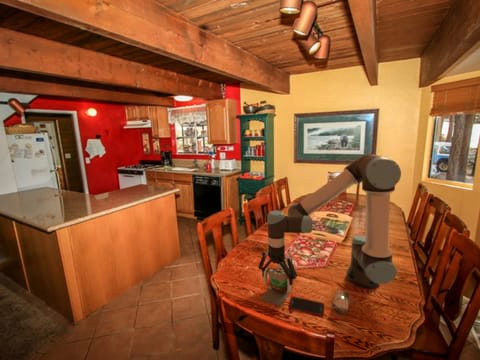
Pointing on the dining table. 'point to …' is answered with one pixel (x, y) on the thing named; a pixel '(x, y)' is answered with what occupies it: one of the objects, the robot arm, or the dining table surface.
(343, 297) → the silver round cylinder
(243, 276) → the dining table surface
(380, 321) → the dining table surface
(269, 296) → the felt pad
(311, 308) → the cell phone
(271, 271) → the food container
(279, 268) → the cup
